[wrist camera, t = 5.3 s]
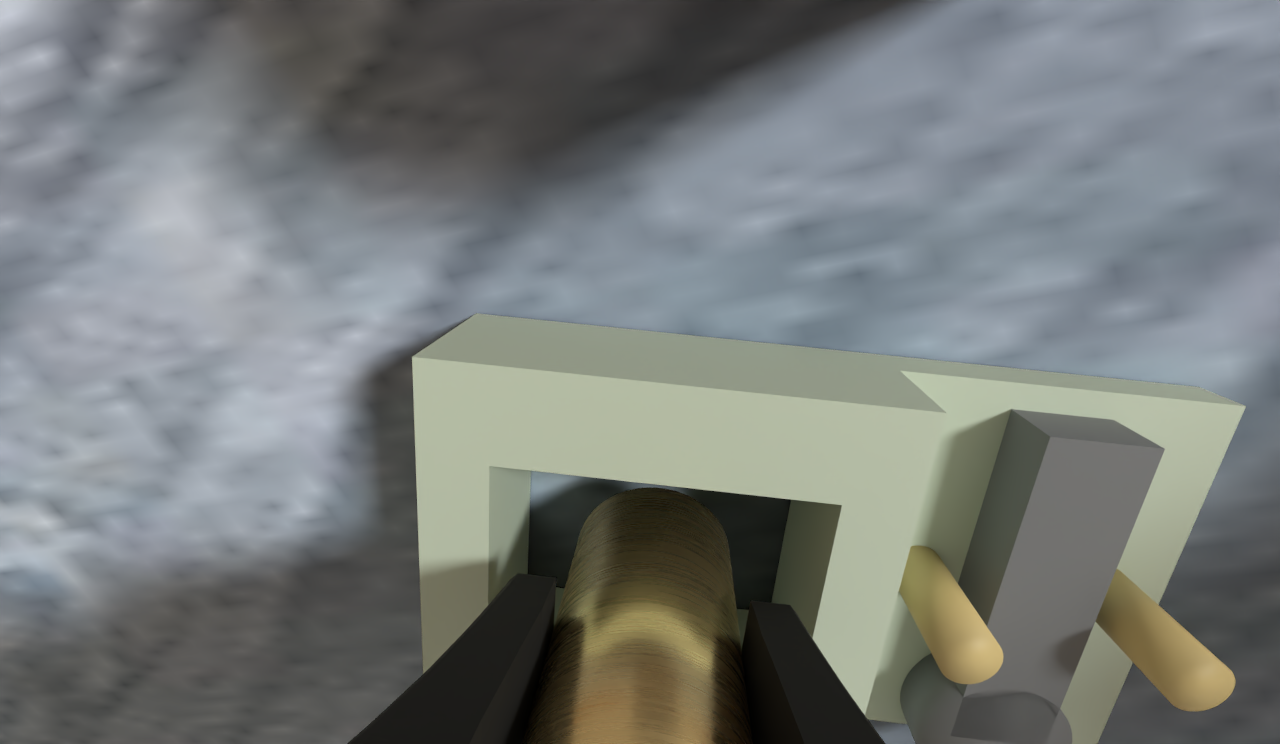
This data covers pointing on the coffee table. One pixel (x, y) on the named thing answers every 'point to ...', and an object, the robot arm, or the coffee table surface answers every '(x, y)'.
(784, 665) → the robot arm
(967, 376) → the slot jig
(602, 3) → the coffee table surface
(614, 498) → the brass pin
